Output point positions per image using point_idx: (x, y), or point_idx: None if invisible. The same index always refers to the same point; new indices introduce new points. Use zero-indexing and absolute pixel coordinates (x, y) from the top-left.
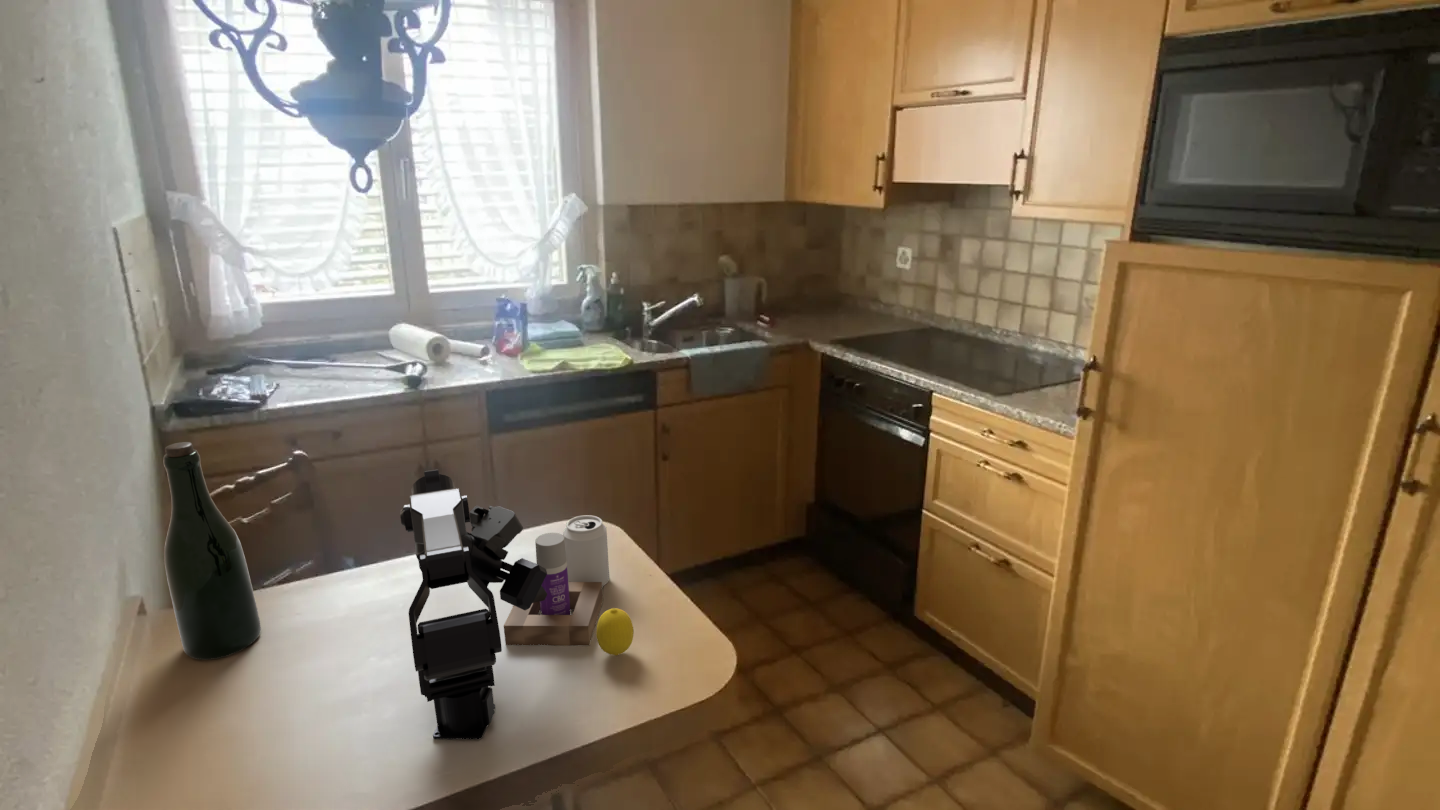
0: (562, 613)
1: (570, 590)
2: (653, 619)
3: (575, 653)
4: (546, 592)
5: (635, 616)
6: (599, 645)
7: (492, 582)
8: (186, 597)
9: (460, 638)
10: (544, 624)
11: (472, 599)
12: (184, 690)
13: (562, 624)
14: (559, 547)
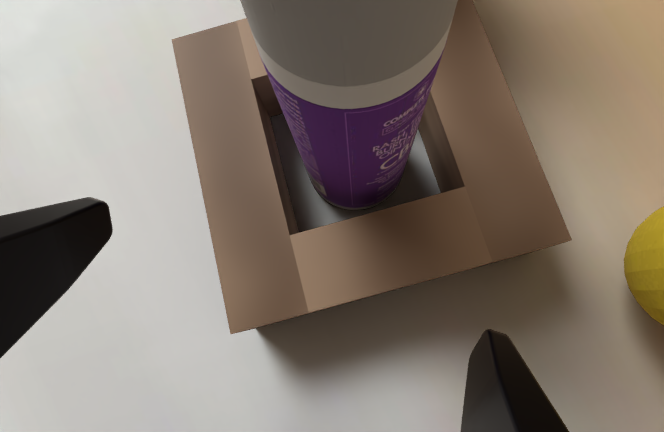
0: (401, 169)
1: None
2: (656, 59)
3: (508, 304)
4: (515, 347)
5: (589, 61)
6: (660, 322)
7: (51, 304)
8: None
9: None
10: (390, 279)
11: (33, 128)
12: None
13: (463, 260)
14: None
